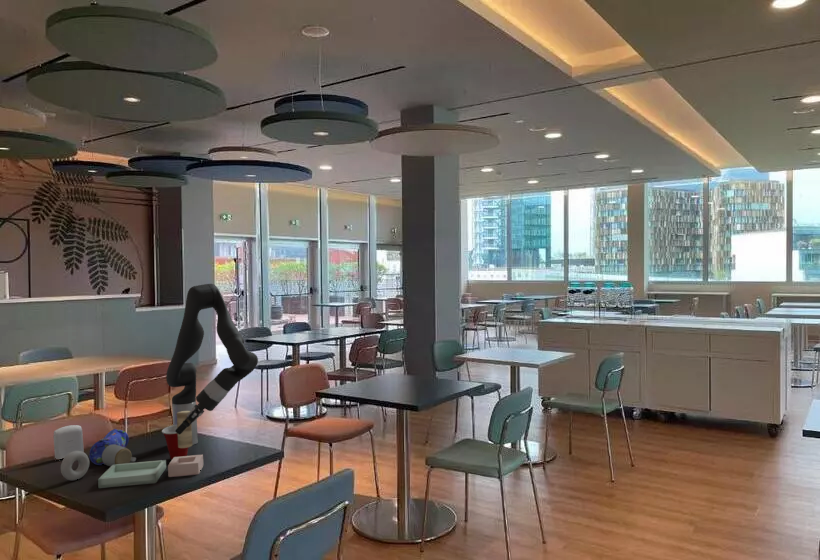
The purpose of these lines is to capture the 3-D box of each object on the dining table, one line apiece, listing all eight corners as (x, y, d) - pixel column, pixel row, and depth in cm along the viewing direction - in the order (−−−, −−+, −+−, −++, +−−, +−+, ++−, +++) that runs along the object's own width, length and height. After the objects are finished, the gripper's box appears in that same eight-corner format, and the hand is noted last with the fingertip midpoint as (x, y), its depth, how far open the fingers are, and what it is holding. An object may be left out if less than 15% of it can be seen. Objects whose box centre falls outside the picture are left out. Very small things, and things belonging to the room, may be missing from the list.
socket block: (174, 468, 220) (174, 457, 220) (203, 465, 222) (202, 454, 222) (168, 477, 210) (167, 465, 210) (198, 474, 212) (198, 462, 212)
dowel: (179, 444, 218) (178, 411, 218) (193, 443, 219) (192, 410, 219) (176, 448, 213) (175, 414, 213) (191, 447, 214) (189, 413, 214)
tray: (113, 472, 218) (112, 464, 218) (166, 468, 221) (166, 459, 221) (98, 488, 202) (98, 479, 202) (155, 482, 205) (155, 473, 205)
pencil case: (112, 465, 227) (111, 439, 227) (87, 467, 226) (86, 441, 226) (130, 448, 249) (129, 425, 249) (107, 450, 248) (106, 427, 248)
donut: (85, 474, 217) (84, 446, 217) (92, 475, 216) (90, 447, 215) (59, 484, 208) (57, 454, 208) (65, 485, 207) (64, 455, 206)
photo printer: (56, 461, 235) (55, 429, 235) (53, 459, 238) (51, 428, 238) (85, 455, 242) (83, 424, 242) (81, 453, 245) (80, 422, 245)
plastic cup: (156, 461, 230) (155, 429, 229) (179, 453, 239) (178, 422, 239) (177, 464, 225) (175, 432, 224) (199, 456, 234) (198, 424, 234)
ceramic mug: (115, 470, 220) (115, 449, 220) (101, 467, 224) (101, 447, 224) (141, 462, 230) (140, 442, 230) (127, 460, 234) (126, 440, 234)
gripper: (207, 383, 224) (174, 419, 222) (201, 391, 210) (166, 429, 208) (223, 397, 225) (190, 432, 223) (218, 405, 211) (183, 443, 209)
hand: (179, 430), depth 216 cm, fingers closed on dowel, 4 cm apart
